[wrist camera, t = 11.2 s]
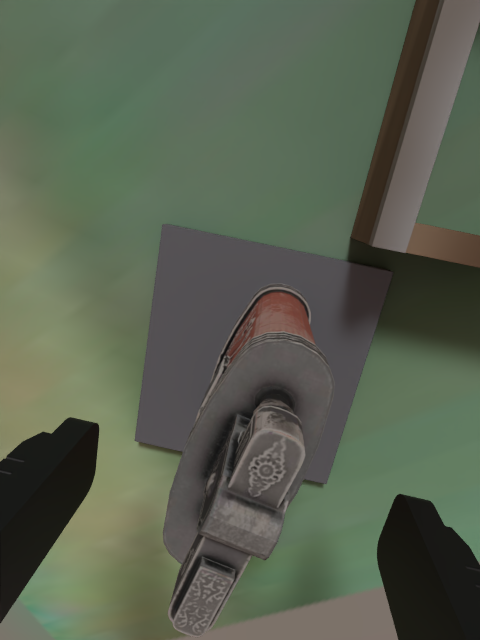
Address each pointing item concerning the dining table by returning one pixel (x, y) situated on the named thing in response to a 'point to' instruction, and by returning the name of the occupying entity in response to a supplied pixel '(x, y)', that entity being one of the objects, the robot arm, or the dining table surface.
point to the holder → (419, 135)
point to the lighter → (245, 453)
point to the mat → (222, 313)
